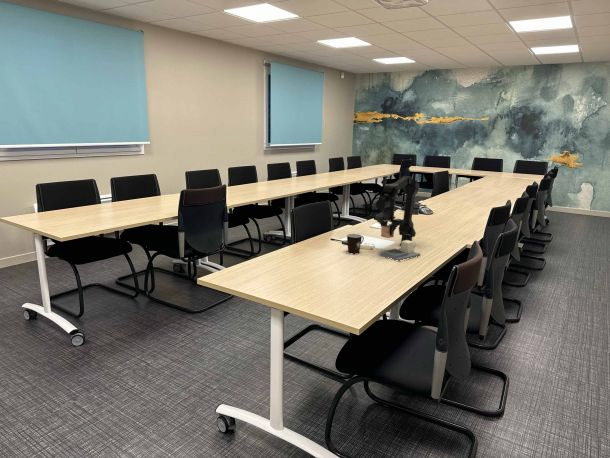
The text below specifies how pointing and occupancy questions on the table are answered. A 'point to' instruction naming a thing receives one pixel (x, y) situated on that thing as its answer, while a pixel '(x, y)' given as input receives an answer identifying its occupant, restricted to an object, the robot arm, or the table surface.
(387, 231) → the terracotta block
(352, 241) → the coffee mug
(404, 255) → the socket board
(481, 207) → the table surface
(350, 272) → the table surface
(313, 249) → the table surface
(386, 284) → the table surface
